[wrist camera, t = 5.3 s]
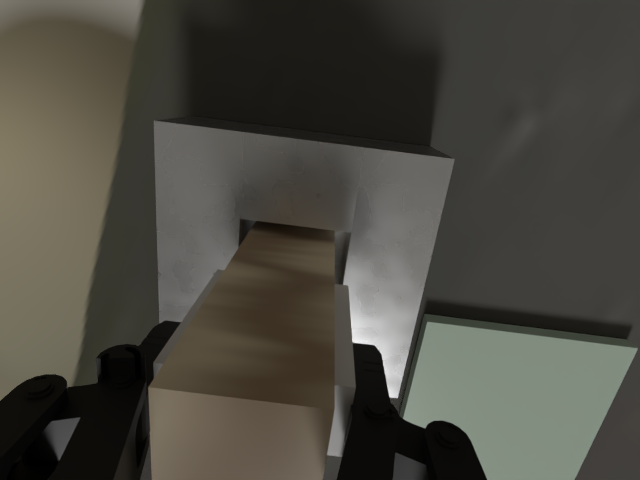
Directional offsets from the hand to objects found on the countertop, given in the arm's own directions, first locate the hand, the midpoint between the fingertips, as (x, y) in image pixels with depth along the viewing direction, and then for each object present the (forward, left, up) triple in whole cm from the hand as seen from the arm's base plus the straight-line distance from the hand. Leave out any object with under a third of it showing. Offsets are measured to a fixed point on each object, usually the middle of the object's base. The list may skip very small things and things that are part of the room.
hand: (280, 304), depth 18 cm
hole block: (0, 0, -8) cm, 8 cm away
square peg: (0, 0, -6) cm, 6 cm away
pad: (+16, -11, -8) cm, 21 cm away
